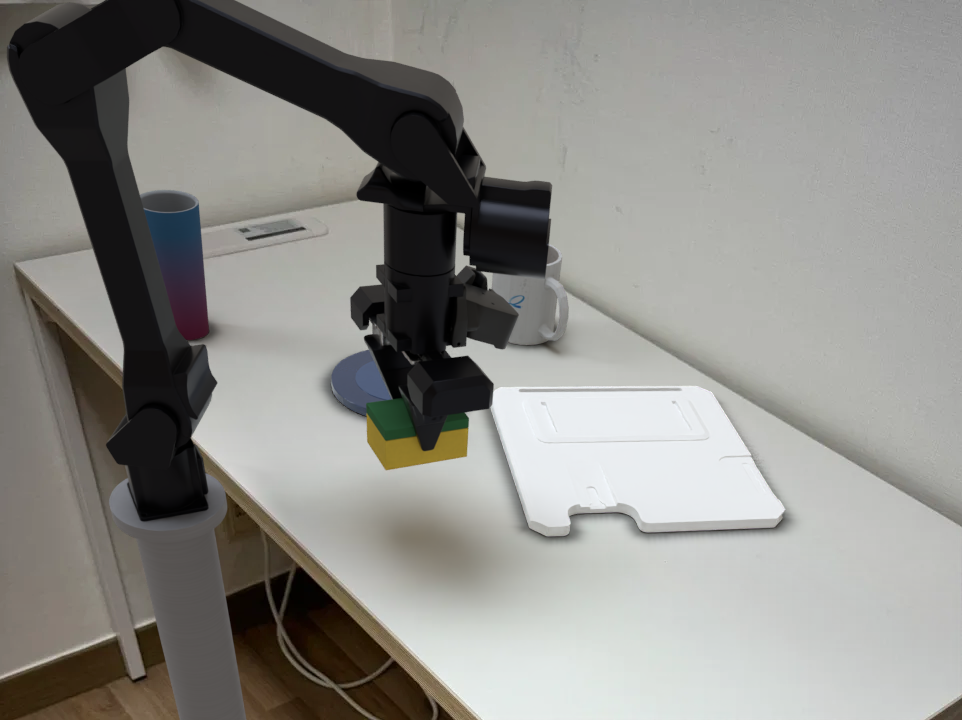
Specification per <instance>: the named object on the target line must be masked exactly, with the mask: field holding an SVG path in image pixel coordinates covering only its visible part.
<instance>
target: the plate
mask: <svg viewBox="0 0 962 720" xmlns="http://www.w3.org/2000/svg"><path fill="white" fill-rule="evenodd" d="M330 384H331V385H330V386H331V390H332V394H333V395H334V397H335V398H336V399H337V401H338V402H340V404H341V405H343V406H344V407H346V408H347V409H349V410H351V411H352V412H355V413H357V414H359V415H361V416H365V417H367V416H366V414H367V413H366V403H370V402H377V401H384V400H391V397H390V395H389V392H388V390H387V388H386V386H385V384H384V381H383V379H382V377H381V375H380V373H379V370H378V368H377V366H376V364H375V362H374V360H373V358H372V355H371V353H370V351H369V349H366V350H365V349H364V350H362V351H358V352H356V353H352V354H350V355H348V356H347V357H344V358H343V359H342V360H341V361H339V362H338V363H337V364H336V365H335V366H334V367H333V369H332V371H331V375H330Z"/></svg>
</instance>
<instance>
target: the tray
mask: <svg viewBox="0 0 962 720" xmlns="http://www.w3.org/2000/svg"><path fill="white" fill-rule="evenodd" d="M489 409H490V411H491V414H492V418H493V421H494V424H495V427H496V430H497V433H498V437H499V439H500V443H501V445H502V448H503V452H504V455H505V458H506V461H507V464H508V467H509V470H510V474H511V476H512V480H513V482H514V485H515V489H516V492H517V495H518V497H519V501H520V504H521V507H522V510H523V513H524V516H525V519H526V523H527V525H528V528H529V529H530V530H532V531H535V532H536V533H539V534H541V535H543V536H545V537H564V536H567V535H569V533H570V529H571V519H570V517H571V516H573V515H576V514H577V515H579V514H601V513H605V514H606V513H620V514H625V515H628V516H629V517H631V518H632V519H633V521H634V522H635V523H636V525H637V527H638V529H639V530H640V531H642V532H643V533H670V532H694V531H696V532H697V531H719V530H743V529H745V530H746V529H769V528H770V529H771V528H776V526H777V525H778V524H779V523H780V522H781V520H783V518H784V516H783V514H784V513H785V511H786V508H785V506H784V505H783V503H782V501H781V500H780V498H779V499H778V497H777V496H776V494H774V492H773V490H772V489H771V487H770V485H768V483H767V481H766V479H765V478H764V476H763V475H762V473H761V472H760V469H759V468H758V467H757V465H756V463H755V461H754V459H753V458H752V454H751V452H750V450H749V448H748V447H747V445H746V444H745V443H744V441H743V439H742V438H741V436H740V434H739V433H738V431H737V430H736V428H735V427H734V425H733V423H732V422H731V420H730V419H729V417H728V416H727V414H726V412H725V411H724V409H723V407H722V406H721V403H720V402H719V401H718V399H717V397H716V396H715V395H714V393H713V392H712V391H711V390H708V389H706V388H703V387H701V386H698V385H613V386H611V385H608V386H607V385H605V386H603V385H602V386H601V385H599V386H596V385H595V386H594V385H593V386H592V385H591V386H589V385H588V386H587V385H586V386H585V385H584V386H499V387H498V388H495V389H493V403H492V406H491V407H490V408H489Z"/></svg>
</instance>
